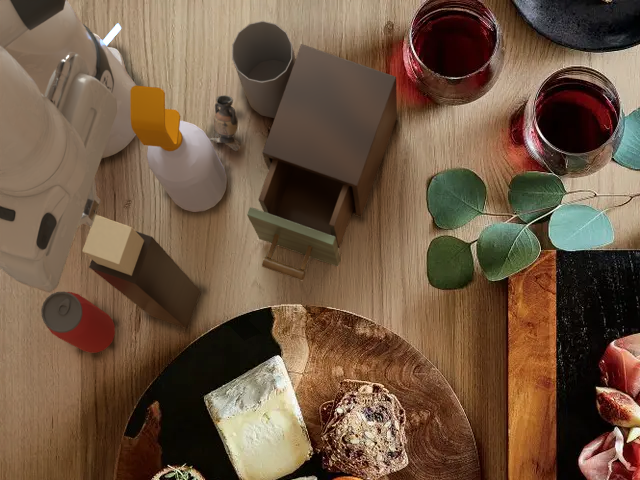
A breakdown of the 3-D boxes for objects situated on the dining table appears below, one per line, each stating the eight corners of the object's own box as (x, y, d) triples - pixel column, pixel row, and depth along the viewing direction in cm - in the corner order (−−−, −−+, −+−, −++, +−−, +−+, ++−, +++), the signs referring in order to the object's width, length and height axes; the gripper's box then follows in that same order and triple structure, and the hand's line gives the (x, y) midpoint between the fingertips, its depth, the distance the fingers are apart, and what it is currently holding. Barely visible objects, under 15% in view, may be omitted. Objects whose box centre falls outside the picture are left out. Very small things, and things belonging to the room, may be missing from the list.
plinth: (149, 315, 122) (88, 267, 98) (163, 277, 122) (105, 220, 98) (187, 329, 122) (135, 283, 98) (201, 291, 122) (152, 236, 98)
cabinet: (361, 217, 122) (357, 186, 110) (275, 187, 122) (262, 152, 110) (396, 118, 122) (396, 76, 110) (310, 88, 122) (301, 43, 110)
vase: (220, 106, 122) (211, 85, 116) (254, 120, 122) (246, 100, 116) (206, 139, 122) (196, 120, 116) (239, 153, 122) (231, 135, 116)
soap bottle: (230, 155, 122) (187, 64, 98) (224, 215, 122) (179, 141, 98) (170, 149, 122) (112, 58, 98) (164, 210, 122) (104, 134, 98)
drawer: (327, 298, 121) (320, 279, 111) (248, 270, 121) (234, 248, 111) (371, 174, 121) (368, 144, 111) (292, 146, 121) (282, 113, 111)
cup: (300, 118, 122) (291, 82, 112) (245, 117, 122) (231, 82, 112) (301, 61, 122) (292, 20, 112) (246, 61, 122) (232, 20, 112)
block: (96, 263, 98) (82, 251, 94) (109, 228, 98) (95, 214, 94) (131, 275, 98) (118, 264, 94) (144, 240, 98) (132, 227, 94)
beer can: (123, 320, 122) (93, 299, 110) (105, 361, 122) (73, 344, 110) (84, 302, 122) (49, 279, 110) (65, 342, 123) (29, 323, 111)
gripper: (35, 30, 72) (93, 107, 86) (-41, 251, 72) (30, 293, 86) (102, 53, 72) (150, 127, 86) (27, 274, 72) (86, 312, 86)
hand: (89, 211), depth 86 cm, fingers closed
